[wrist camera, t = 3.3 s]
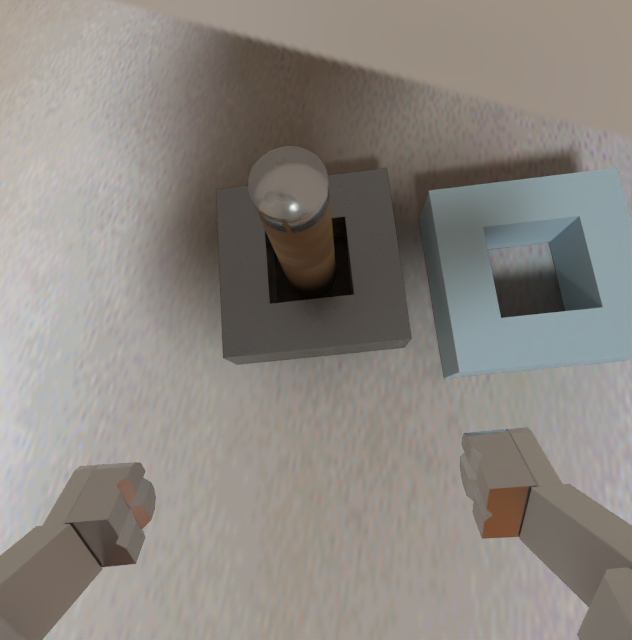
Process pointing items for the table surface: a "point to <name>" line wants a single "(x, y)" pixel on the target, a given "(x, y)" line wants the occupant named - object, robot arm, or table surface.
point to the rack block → (569, 260)
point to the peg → (297, 217)
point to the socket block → (323, 313)
